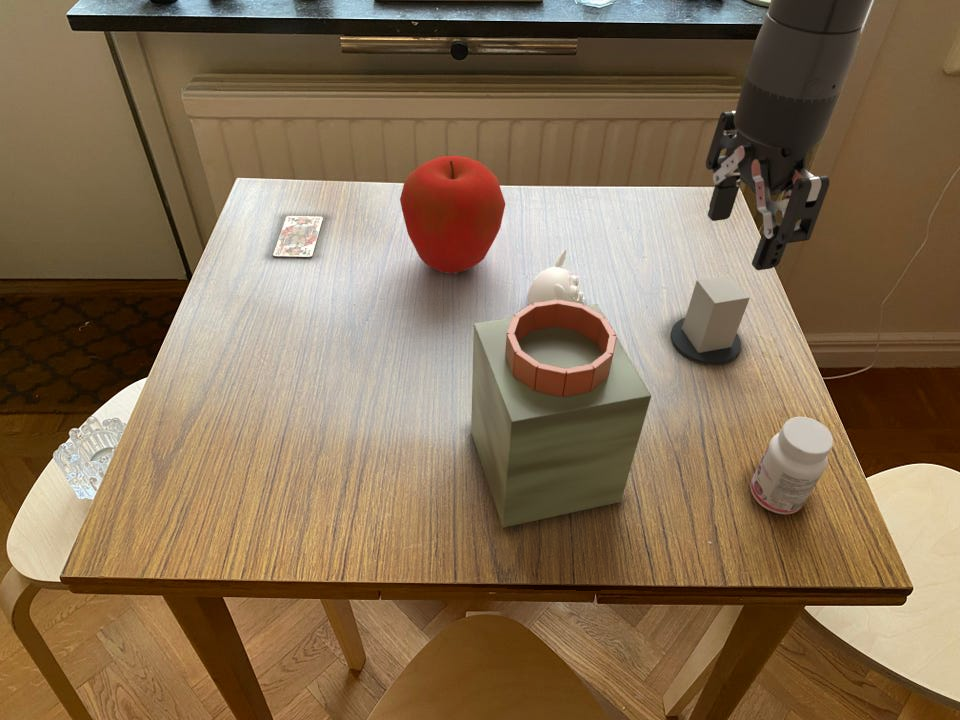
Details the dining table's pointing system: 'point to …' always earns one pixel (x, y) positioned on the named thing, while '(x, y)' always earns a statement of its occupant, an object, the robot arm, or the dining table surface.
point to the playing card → (298, 236)
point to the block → (715, 313)
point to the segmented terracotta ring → (552, 376)
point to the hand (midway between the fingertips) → (739, 241)
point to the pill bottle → (792, 465)
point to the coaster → (707, 357)
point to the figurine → (555, 285)
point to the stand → (553, 426)
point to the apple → (452, 212)
